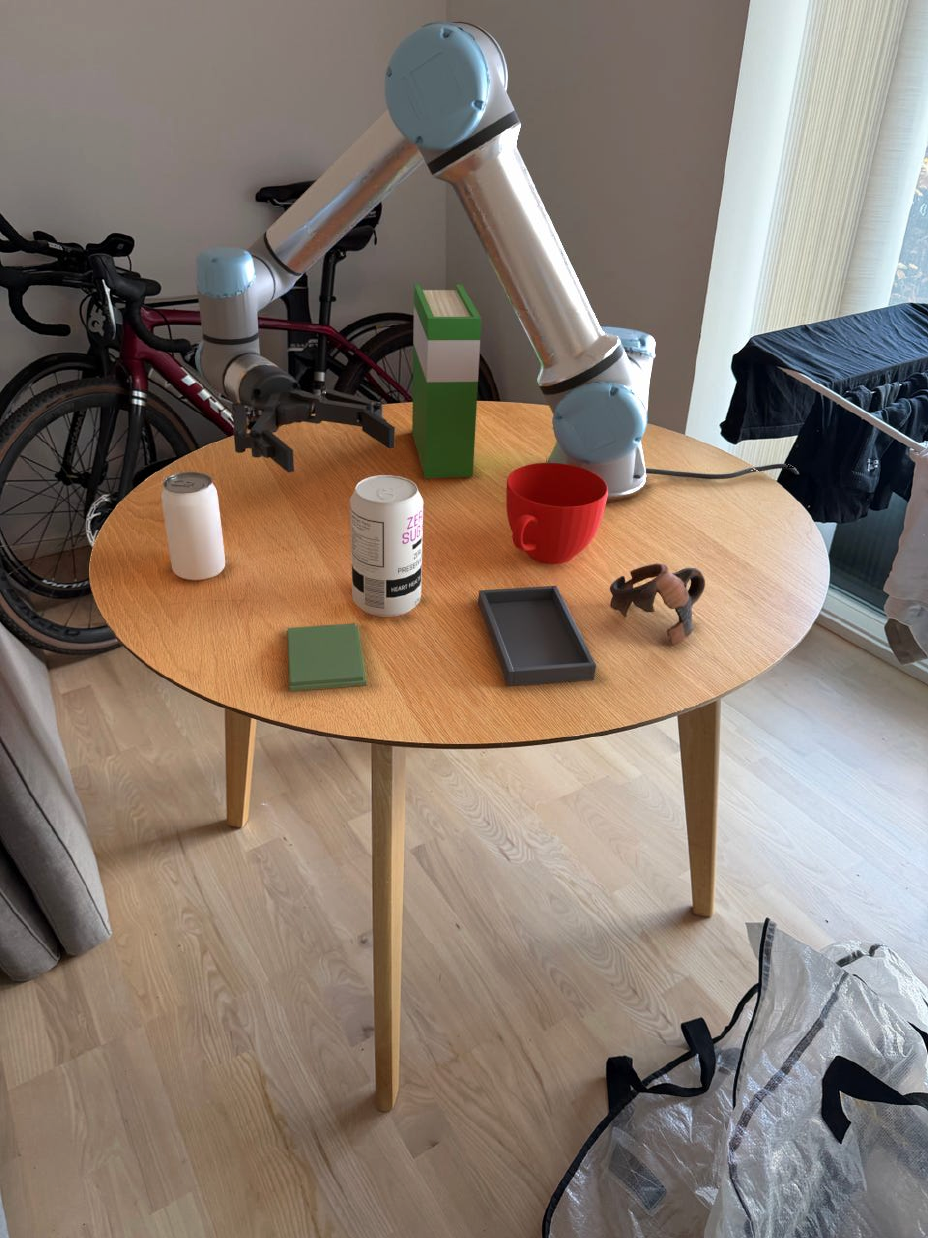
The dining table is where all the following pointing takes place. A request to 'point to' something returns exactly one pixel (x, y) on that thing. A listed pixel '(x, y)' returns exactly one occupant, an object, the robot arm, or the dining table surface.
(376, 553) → the supplement can
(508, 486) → the ceramic cup
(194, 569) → the can
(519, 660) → the pan
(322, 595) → the dining table surface
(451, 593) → the dining table surface
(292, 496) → the dining table surface
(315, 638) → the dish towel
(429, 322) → the hardback book
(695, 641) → the dining table surface
